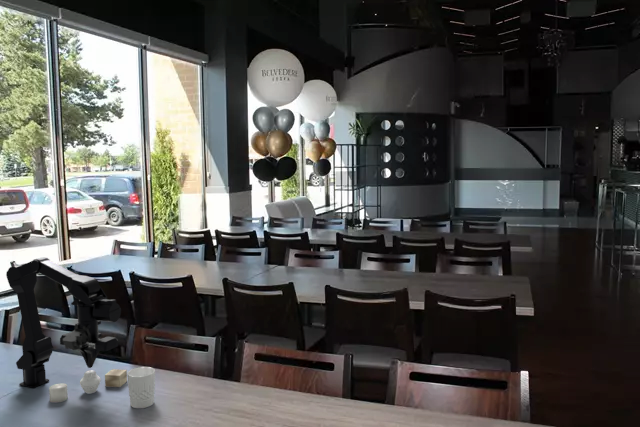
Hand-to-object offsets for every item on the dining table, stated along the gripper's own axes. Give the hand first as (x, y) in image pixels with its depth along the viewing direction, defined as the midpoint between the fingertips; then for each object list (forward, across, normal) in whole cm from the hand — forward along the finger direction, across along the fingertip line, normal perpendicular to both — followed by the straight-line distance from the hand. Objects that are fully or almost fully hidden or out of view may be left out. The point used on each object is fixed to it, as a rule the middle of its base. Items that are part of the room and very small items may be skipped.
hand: (90, 367), depth 178 cm
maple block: (+8, +3, +8) cm, 12 cm away
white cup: (+8, +21, -1) cm, 22 cm away
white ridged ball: (+8, 0, 0) cm, 8 cm away
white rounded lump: (+8, -5, -8) cm, 12 cm away
